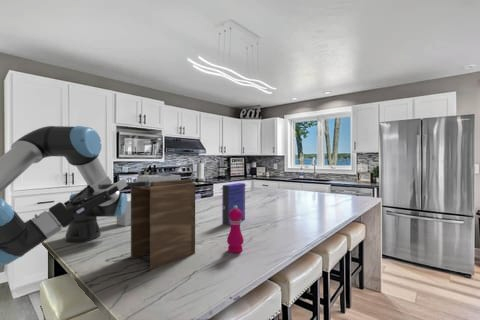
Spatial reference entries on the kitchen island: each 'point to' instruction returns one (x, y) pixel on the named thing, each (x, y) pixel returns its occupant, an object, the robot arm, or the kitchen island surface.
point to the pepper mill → (235, 231)
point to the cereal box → (232, 200)
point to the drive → (146, 180)
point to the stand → (163, 221)
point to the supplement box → (125, 215)
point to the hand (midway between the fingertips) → (117, 180)
